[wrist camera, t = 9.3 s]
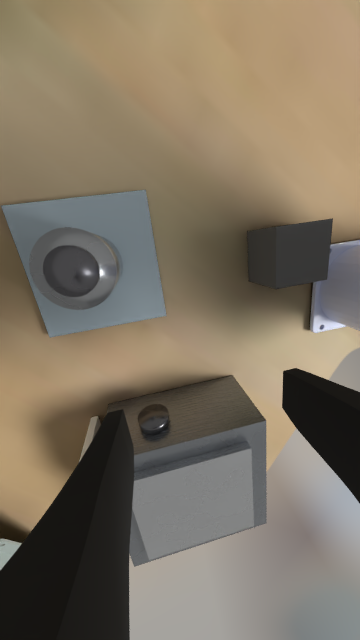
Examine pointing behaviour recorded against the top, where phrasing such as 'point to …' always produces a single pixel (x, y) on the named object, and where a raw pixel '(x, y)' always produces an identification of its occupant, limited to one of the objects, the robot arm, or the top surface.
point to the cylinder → (75, 267)
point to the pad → (119, 228)
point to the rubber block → (289, 254)
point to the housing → (194, 466)
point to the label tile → (90, 433)
